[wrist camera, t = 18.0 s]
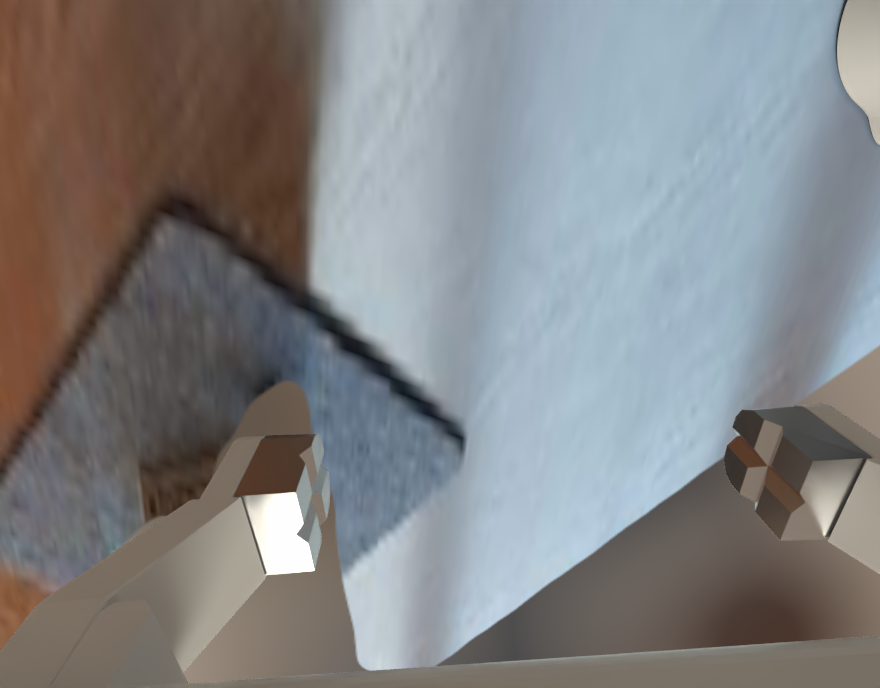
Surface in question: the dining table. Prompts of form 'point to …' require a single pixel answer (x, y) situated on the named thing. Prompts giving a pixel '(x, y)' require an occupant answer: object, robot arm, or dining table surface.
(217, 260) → the dining table surface
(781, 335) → the dining table surface
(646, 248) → the dining table surface
